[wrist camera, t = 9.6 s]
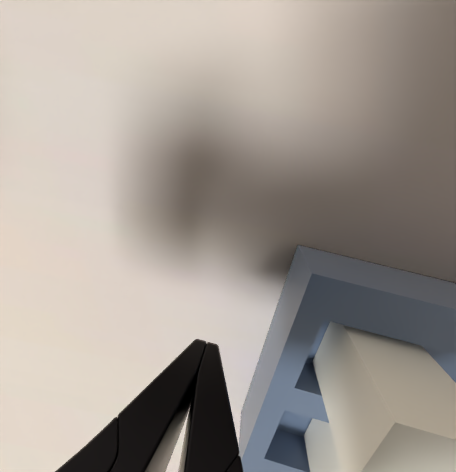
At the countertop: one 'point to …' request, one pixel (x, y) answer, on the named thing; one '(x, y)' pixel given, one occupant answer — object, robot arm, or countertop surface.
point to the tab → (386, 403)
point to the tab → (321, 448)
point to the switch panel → (312, 332)
